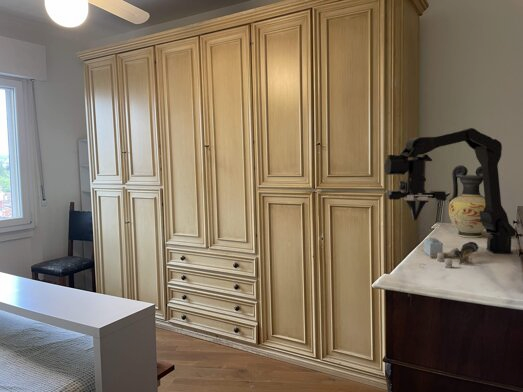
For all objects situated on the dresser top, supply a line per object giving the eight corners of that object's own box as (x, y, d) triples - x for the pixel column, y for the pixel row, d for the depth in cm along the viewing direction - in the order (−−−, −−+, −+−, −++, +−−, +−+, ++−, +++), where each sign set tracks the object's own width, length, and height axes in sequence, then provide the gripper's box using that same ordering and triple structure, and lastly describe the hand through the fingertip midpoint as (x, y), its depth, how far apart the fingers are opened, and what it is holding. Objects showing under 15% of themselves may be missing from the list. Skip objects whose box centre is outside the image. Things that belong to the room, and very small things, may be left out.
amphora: (494, 234, 176) (496, 164, 173) (492, 241, 162) (494, 165, 159) (450, 231, 186) (451, 165, 183) (444, 237, 171) (445, 166, 169)
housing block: (436, 251, 145) (436, 237, 144) (442, 256, 138) (442, 241, 138) (424, 251, 145) (424, 237, 145) (430, 256, 139) (430, 240, 138)
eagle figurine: (480, 263, 125) (484, 252, 132) (465, 244, 126) (471, 234, 133) (457, 273, 130) (463, 261, 137) (444, 254, 131) (450, 244, 138)
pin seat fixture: (455, 253, 143) (455, 246, 143) (477, 268, 124) (477, 260, 124) (425, 253, 144) (425, 246, 144) (442, 268, 125) (442, 260, 125)
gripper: (437, 173, 146) (435, 217, 148) (383, 173, 148) (382, 216, 150) (447, 175, 135) (446, 221, 137) (390, 175, 137) (388, 221, 139)
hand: (414, 219), depth 141 cm, fingers closed
